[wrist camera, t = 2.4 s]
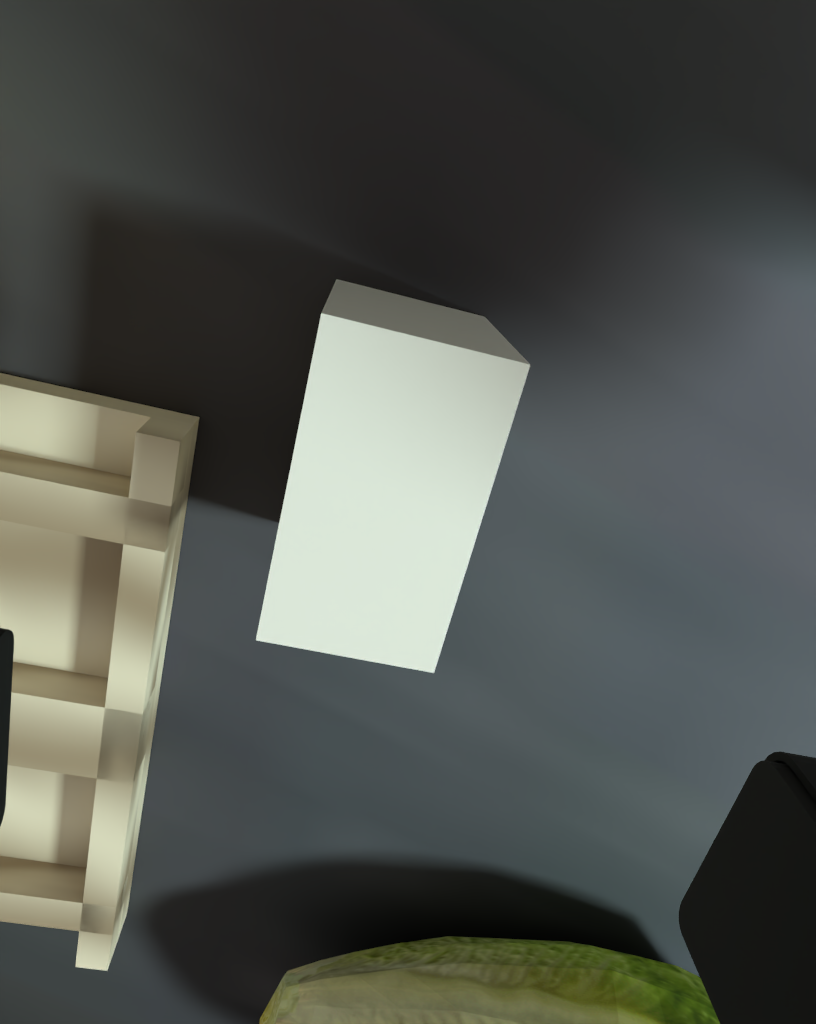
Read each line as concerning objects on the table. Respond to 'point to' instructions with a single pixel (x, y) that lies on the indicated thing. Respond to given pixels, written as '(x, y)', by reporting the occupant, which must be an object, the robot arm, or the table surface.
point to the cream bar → (388, 476)
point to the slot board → (83, 643)
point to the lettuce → (489, 986)
